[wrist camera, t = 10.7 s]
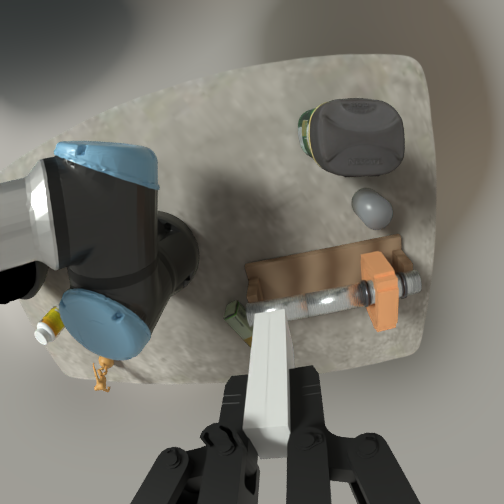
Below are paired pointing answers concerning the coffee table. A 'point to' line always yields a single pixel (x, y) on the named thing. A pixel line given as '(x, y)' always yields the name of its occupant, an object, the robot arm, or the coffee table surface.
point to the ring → (381, 290)
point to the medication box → (239, 321)
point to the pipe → (332, 298)
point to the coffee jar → (353, 137)
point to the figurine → (105, 365)
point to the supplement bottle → (49, 326)
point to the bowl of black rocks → (22, 281)
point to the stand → (319, 269)
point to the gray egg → (372, 208)
